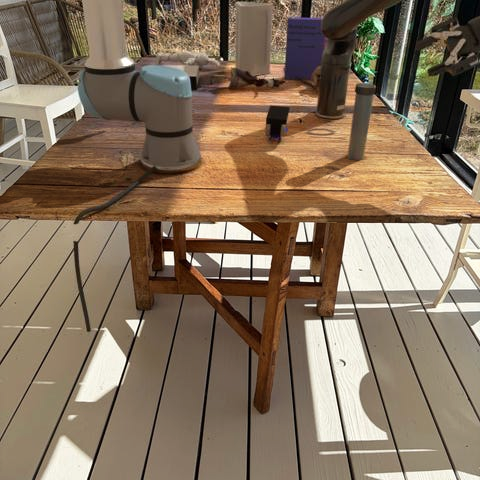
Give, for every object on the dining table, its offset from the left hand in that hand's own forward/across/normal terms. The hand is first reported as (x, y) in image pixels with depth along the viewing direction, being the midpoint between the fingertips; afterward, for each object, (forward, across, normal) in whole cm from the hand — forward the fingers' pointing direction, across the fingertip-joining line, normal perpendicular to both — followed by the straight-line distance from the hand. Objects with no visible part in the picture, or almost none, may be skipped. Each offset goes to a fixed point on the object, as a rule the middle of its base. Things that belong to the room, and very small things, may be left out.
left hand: (174, 20), depth 152 cm
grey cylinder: (+28, -60, +34) cm, 75 cm away
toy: (+28, +16, -66) cm, 73 cm away
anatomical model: (+28, -47, -39) cm, 67 cm away
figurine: (+28, -18, -34) cm, 47 cm away
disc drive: (+28, +12, -35) cm, 46 cm away
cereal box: (+28, -39, -57) cm, 75 cm away
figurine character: (+28, -37, +23) cm, 52 cm away
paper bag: (+28, -16, -63) cm, 71 cm away
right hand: (+2, -72, +34) cm, 80 cm away
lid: (+9, -60, +34) cm, 70 cm away
